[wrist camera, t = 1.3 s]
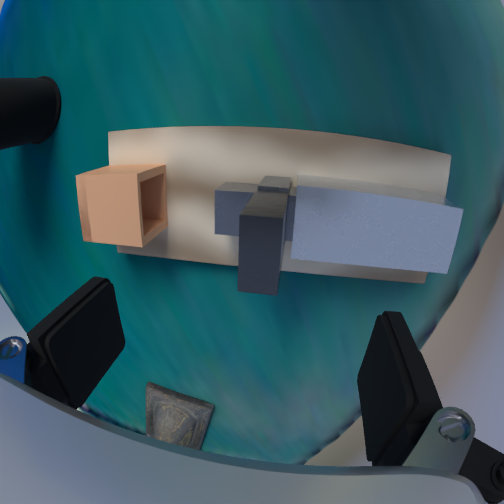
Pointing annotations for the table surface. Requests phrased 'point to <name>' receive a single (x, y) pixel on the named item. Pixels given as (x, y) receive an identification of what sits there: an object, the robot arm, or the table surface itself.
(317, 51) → the table surface
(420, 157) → the base board
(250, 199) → the grey bar
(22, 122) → the aerosol can
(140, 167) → the socket
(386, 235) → the pale blue rectangular box
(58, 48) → the table surface
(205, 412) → the embossing press
